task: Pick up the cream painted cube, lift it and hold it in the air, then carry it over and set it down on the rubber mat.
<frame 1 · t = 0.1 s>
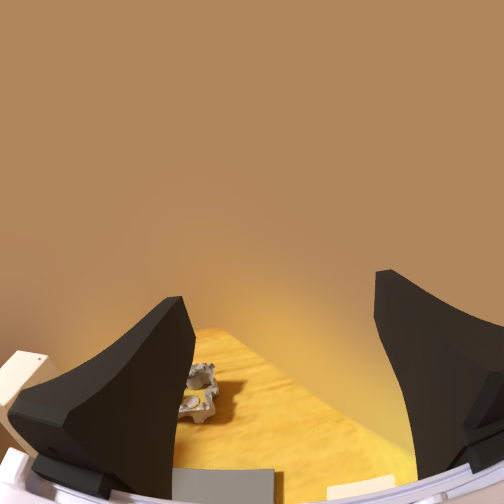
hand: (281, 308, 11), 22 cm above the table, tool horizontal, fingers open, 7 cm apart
egg carton: (179, 405, 35), on the table
small box: (72, 454, 27), on the table
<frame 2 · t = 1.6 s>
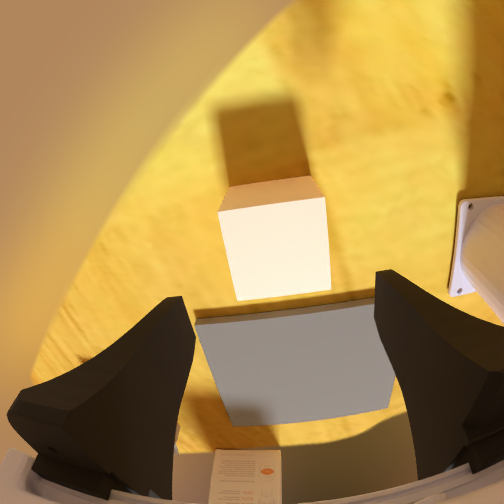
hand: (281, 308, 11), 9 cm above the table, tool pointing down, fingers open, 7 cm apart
cube: (275, 218, 20), on the table
mat: (307, 371, 26), on the table
small box: (250, 458, 34), on the table
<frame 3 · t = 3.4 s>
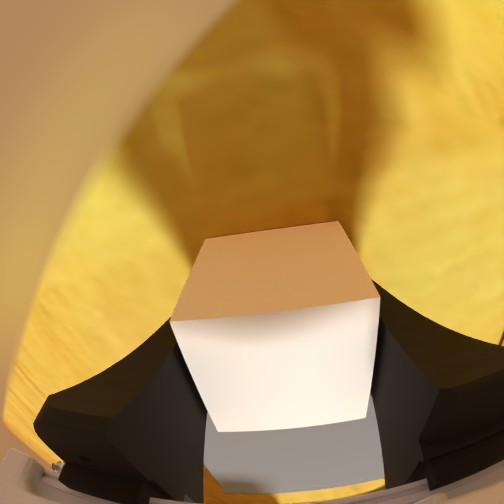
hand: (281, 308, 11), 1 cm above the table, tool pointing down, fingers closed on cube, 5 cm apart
cube: (279, 287, 13), on the table, touching gripper
mat: (315, 449, 18), on the table
when the fingers open (4 cm above the table, at t = 8.2 s): cube drops 2 cm, resting on mat.
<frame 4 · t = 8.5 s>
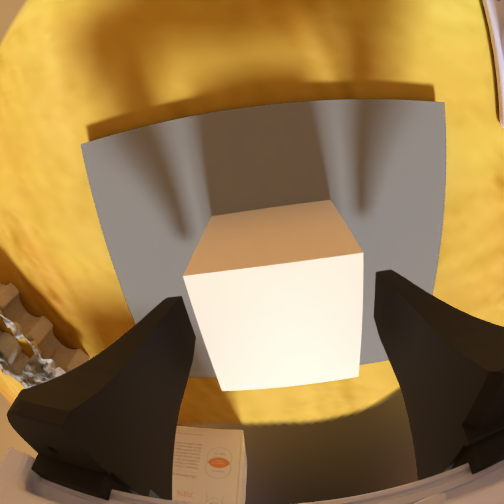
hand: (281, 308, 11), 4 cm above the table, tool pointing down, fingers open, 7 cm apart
egg carton: (38, 335, 19), on the table
cube: (278, 261, 14), point 1 cm above the table, touching mat
mat: (278, 259, 15), on the table
small box: (200, 441, 23), on the table
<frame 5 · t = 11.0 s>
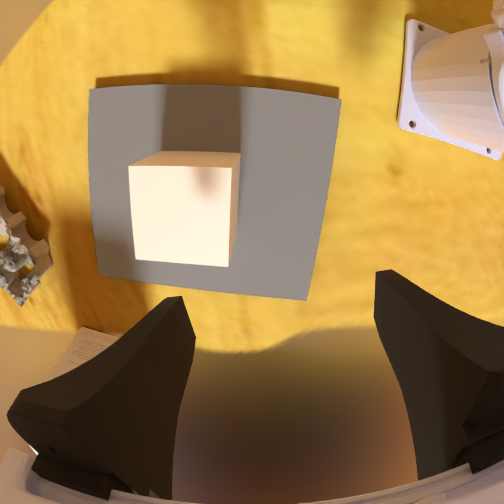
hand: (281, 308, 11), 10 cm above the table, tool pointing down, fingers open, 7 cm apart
egg carton: (14, 234, 23), on the table
cube: (199, 190, 19), point 1 cm above the table, touching mat
mat: (201, 191, 20), on the table
small box: (121, 356, 28), on the table
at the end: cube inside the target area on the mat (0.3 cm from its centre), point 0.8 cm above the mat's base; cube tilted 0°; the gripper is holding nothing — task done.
